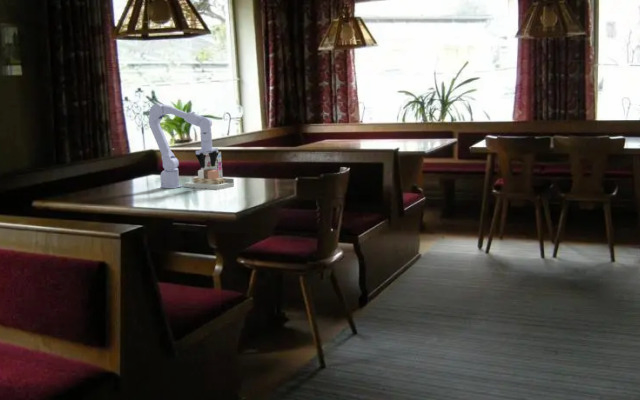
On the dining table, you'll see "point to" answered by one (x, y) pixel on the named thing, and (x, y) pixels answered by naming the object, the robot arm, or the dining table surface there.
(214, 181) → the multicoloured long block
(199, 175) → the white cube
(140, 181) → the dining table surface
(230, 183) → the dock
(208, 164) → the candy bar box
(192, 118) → the robot arm
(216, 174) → the salmon pink cube
